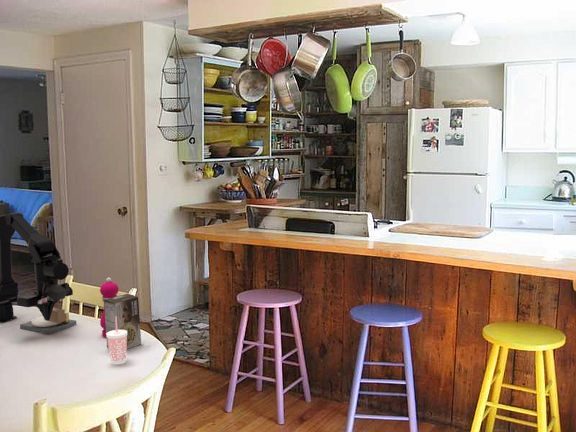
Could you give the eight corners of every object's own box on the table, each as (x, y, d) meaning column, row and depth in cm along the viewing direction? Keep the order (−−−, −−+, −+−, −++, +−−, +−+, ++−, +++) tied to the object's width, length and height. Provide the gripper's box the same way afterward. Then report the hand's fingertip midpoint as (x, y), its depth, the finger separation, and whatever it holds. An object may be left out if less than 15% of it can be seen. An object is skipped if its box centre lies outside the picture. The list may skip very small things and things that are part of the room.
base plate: (20, 328, 215) (19, 324, 215) (47, 319, 226) (47, 315, 226) (49, 334, 208) (49, 330, 208) (76, 324, 219) (76, 320, 219)
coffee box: (129, 340, 201) (127, 293, 199) (141, 344, 197) (139, 296, 195) (106, 348, 194) (103, 299, 192) (118, 352, 190) (115, 302, 188)
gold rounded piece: (62, 323, 216) (61, 313, 215) (66, 321, 218) (65, 312, 217) (66, 324, 215) (65, 314, 214) (70, 322, 217) (69, 313, 216)
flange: (48, 329, 208) (47, 314, 208) (25, 324, 215) (23, 309, 214) (74, 320, 218) (73, 306, 217) (51, 315, 224) (50, 302, 224)
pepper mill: (99, 333, 209) (96, 276, 206) (120, 330, 212) (117, 274, 209) (102, 339, 202) (99, 281, 200) (124, 336, 205) (121, 278, 203)
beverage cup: (107, 366, 178) (104, 320, 176) (108, 359, 184) (105, 314, 182) (129, 364, 180) (126, 318, 178) (128, 356, 186) (126, 312, 184)
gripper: (36, 284, 195) (39, 331, 197) (82, 273, 211) (85, 316, 213) (14, 281, 201) (17, 326, 203) (60, 270, 217) (63, 312, 219)
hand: (47, 320), depth 209 cm, fingers closed
